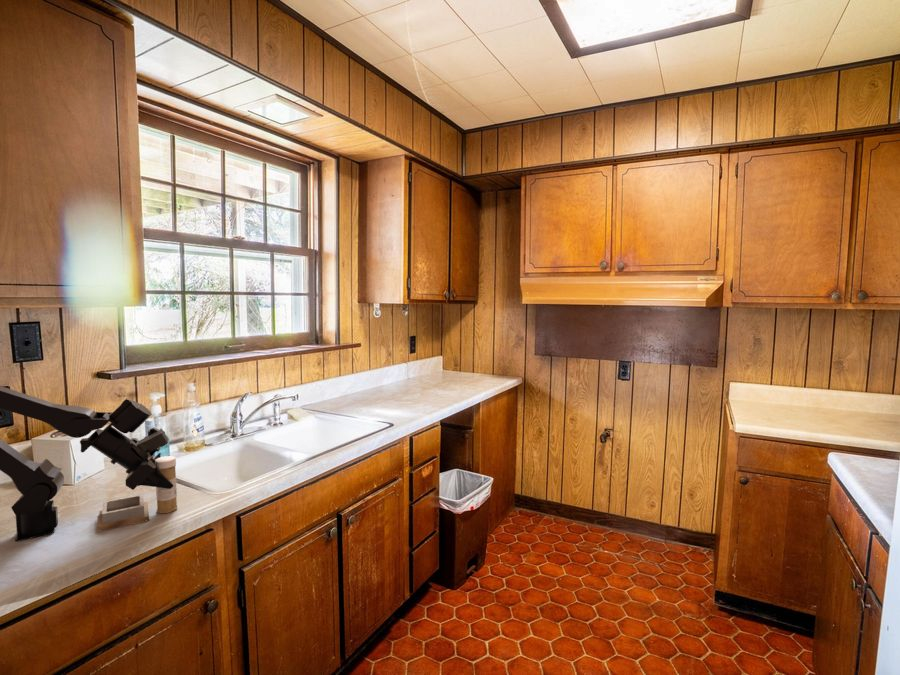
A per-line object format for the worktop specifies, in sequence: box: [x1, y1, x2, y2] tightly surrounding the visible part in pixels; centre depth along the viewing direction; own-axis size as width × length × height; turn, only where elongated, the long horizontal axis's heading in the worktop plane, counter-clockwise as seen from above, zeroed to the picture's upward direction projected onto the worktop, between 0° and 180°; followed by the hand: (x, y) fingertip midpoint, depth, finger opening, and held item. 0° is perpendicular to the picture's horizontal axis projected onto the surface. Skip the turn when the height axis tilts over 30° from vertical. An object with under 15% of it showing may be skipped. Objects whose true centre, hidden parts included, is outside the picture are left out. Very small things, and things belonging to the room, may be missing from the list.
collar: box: [102, 493, 145, 524], centre depth 116 cm, size 8×8×2 cm
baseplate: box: [97, 501, 150, 532], centre depth 116 cm, size 10×10×1 cm
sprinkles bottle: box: [155, 455, 178, 514], centre depth 120 cm, size 5×5×14 cm
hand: (172, 483), depth 120 cm, fingers closed on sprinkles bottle, 4 cm apart
